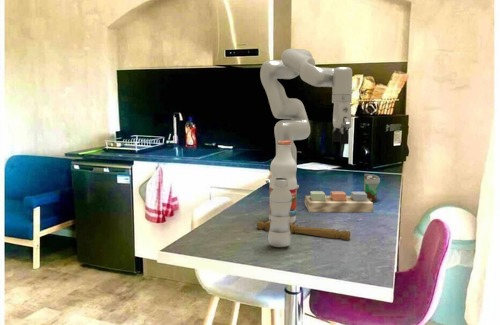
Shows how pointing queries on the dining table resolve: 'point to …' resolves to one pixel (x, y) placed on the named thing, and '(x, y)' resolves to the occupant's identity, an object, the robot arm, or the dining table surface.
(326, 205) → the button panel
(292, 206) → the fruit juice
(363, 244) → the dining table surface
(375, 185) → the food container
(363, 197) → the slate button
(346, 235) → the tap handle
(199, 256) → the dining table surface
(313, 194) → the sage button
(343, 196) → the terracotta button
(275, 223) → the plastic bottle
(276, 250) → the dining table surface
